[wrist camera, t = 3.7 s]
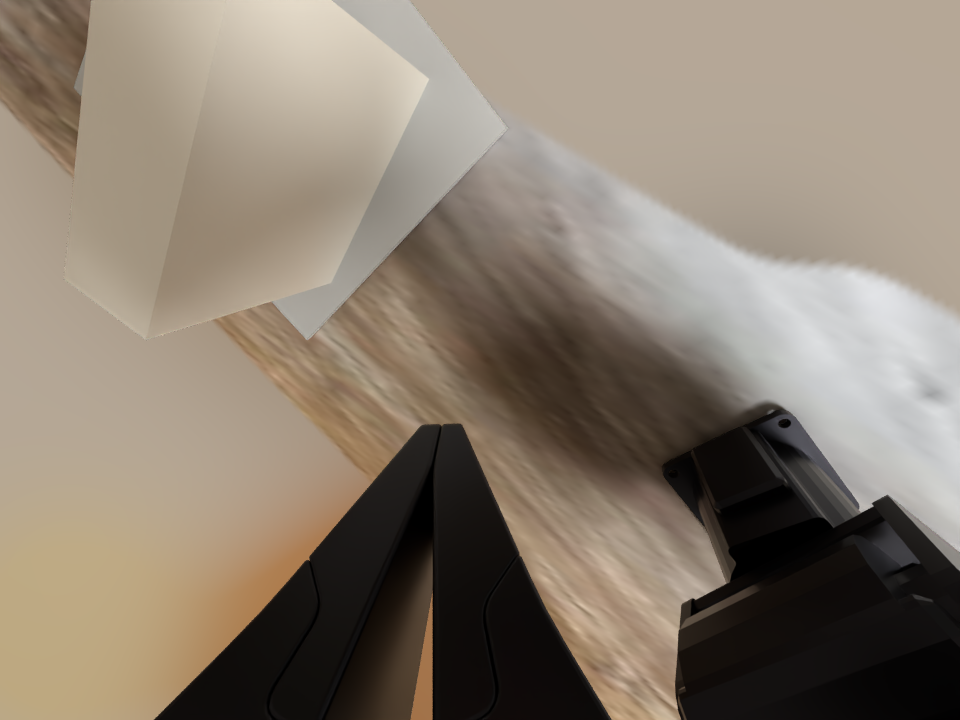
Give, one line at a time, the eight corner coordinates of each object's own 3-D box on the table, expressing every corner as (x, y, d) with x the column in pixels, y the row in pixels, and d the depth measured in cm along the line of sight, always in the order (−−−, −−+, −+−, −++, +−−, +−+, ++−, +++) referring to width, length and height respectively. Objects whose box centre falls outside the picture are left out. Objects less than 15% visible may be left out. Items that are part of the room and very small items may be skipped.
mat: (508, 128, 17) (506, 127, 16) (310, 338, 23) (306, 340, 23) (202, -272, 14) (195, -281, 14) (80, 89, 21) (73, 87, 21)
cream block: (429, 78, 16) (243, -71, 8) (330, 283, 21) (146, 340, 12) (363, 27, 16) (95, -187, 7) (279, 244, 21) (55, 273, 12)
